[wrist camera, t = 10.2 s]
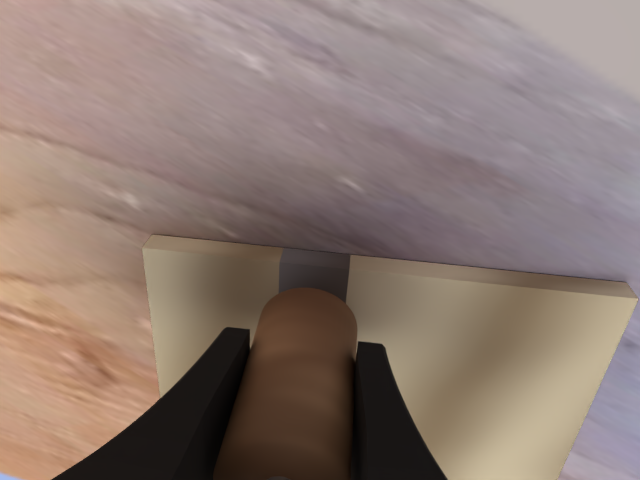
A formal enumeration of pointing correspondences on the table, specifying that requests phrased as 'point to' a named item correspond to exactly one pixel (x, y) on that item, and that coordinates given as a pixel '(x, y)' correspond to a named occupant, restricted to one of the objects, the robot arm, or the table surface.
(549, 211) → the table surface
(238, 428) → the awl
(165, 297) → the plywood panel
